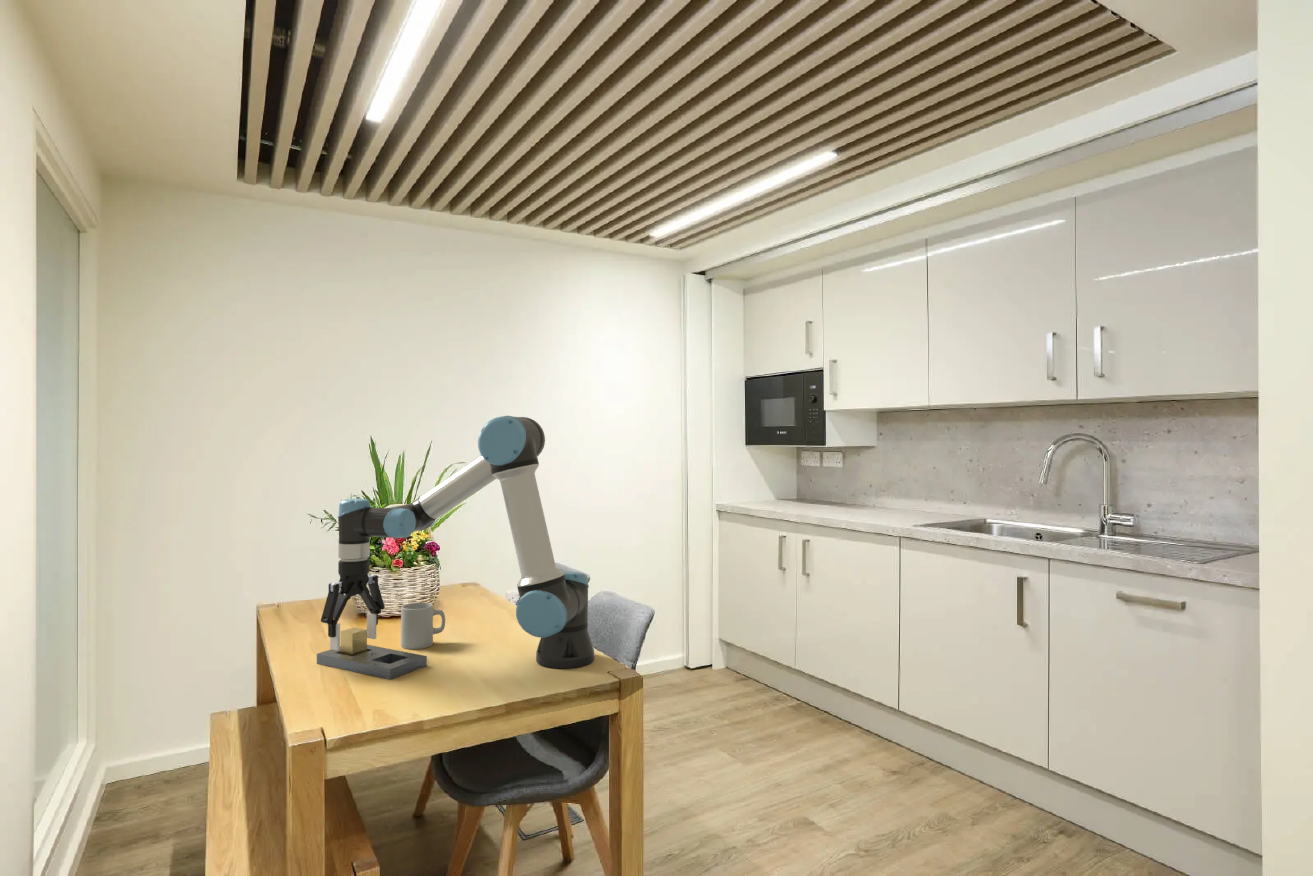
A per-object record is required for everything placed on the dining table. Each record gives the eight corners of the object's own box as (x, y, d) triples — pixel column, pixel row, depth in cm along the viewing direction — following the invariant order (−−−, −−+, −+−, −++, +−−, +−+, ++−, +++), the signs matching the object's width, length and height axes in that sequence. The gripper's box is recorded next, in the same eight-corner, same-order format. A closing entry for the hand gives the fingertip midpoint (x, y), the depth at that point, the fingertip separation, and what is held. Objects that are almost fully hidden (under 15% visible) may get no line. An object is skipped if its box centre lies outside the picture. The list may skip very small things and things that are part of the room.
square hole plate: (426, 665, 191) (426, 656, 191) (390, 679, 180) (390, 669, 180) (354, 651, 203) (355, 642, 203) (316, 663, 192) (316, 653, 192)
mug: (403, 651, 204) (403, 610, 204) (398, 643, 211) (398, 604, 211) (448, 645, 209) (448, 606, 209) (441, 638, 217) (442, 600, 217)
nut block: (366, 660, 195) (366, 629, 195) (352, 664, 191) (352, 633, 191) (355, 657, 198) (355, 627, 197) (340, 662, 194) (340, 631, 193)
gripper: (379, 551, 206) (378, 631, 207) (304, 564, 186) (304, 653, 186) (399, 553, 203) (398, 634, 203) (325, 567, 182) (325, 657, 182)
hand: (353, 643), depth 194 cm, fingers open, 11 cm apart
